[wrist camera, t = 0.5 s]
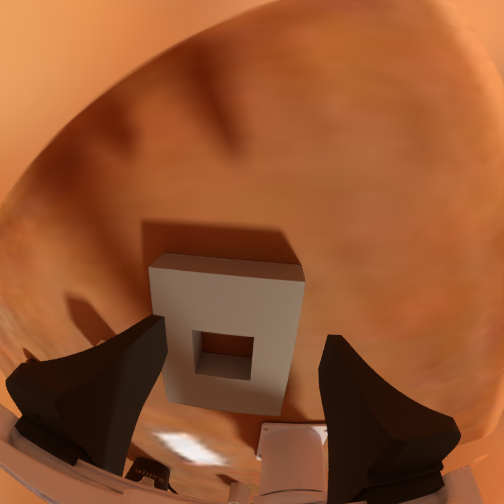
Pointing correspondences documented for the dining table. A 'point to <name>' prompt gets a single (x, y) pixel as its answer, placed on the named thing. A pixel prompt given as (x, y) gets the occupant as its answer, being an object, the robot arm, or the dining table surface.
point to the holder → (227, 329)
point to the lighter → (238, 493)
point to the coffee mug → (150, 474)
